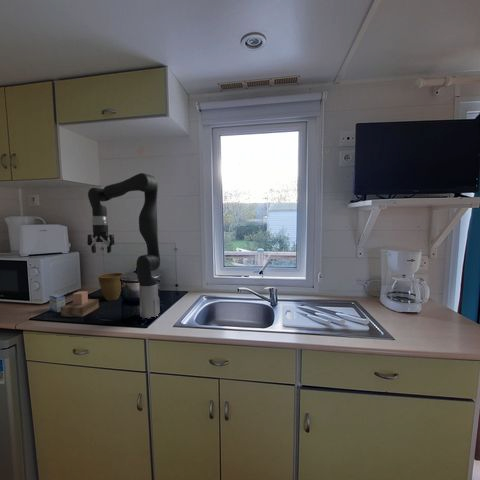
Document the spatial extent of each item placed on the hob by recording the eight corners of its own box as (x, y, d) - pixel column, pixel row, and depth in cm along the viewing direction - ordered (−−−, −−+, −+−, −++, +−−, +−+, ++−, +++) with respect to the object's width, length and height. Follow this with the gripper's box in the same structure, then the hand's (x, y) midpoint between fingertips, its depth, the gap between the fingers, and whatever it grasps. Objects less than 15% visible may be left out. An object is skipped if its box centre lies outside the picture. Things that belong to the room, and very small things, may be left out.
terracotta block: (88, 301, 140) (87, 291, 139) (82, 304, 135) (81, 294, 134) (79, 301, 140) (78, 291, 140) (73, 304, 135) (72, 293, 135)
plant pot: (129, 298, 162) (128, 274, 161) (105, 304, 150) (104, 278, 149) (118, 294, 171) (117, 271, 170) (95, 299, 159) (93, 275, 158)
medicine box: (49, 310, 140) (48, 295, 140) (58, 307, 144) (57, 293, 144) (57, 312, 137) (56, 297, 136) (65, 310, 141) (65, 295, 140)
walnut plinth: (98, 307, 145) (98, 299, 144) (82, 316, 131) (82, 307, 130) (79, 307, 145) (78, 298, 145) (61, 316, 131) (60, 307, 131)
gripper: (116, 224, 141) (117, 252, 142) (92, 224, 142) (93, 251, 143) (108, 224, 134) (110, 253, 135) (83, 224, 134) (84, 253, 135)
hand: (101, 252), depth 139 cm, fingers open, 8 cm apart
